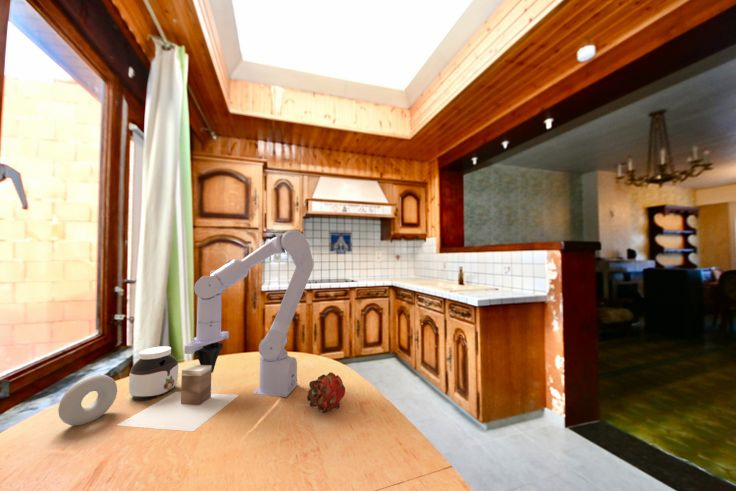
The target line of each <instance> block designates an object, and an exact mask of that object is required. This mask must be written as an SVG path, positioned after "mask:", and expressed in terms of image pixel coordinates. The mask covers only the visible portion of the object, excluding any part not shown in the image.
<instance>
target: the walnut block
mask: <svg viewBox="0 0 736 491" xmlns="http://www.w3.org/2000/svg"><path fill="white" fill-rule="evenodd" d="M211 370H212V365H200V364H192V365H190V366H188V367H186V368H184V369H181V384H180V385H181V386H180V387H181V388H180V392H181V404H190V405H200V404H202V403H203V402H205V401H206V400H208V399H209V398H211V394H212V373H211Z"/></svg>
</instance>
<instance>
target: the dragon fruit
mask: <svg viewBox="0 0 736 491" xmlns="http://www.w3.org/2000/svg"><path fill="white" fill-rule="evenodd" d="M343 383H344V382H343V379H342V378H341V377H340V375H336V374H335V373H334V372H328V373H327V374H322V375H319V376H318V377H317V379H315V380H311V381H309V390H308V392H307V396H306V399H307V401H308V402H309V406H310V408H317V409H318V411H319V412H322V413H326V412H328V411H329V409H331V410H335V409H336V410H339V408H340V405H341V403H340V401H341V400H342V399H343V398H344V397H345V394H346V386H345V385H344V384H343Z"/></svg>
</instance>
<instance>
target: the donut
mask: <svg viewBox="0 0 736 491" xmlns="http://www.w3.org/2000/svg"><path fill="white" fill-rule="evenodd" d="M92 392H96V393H97V397H96V399H95V401H94V402H93V403H92V404H90V405H89V406H87V407H86V406H85V407H83V406H82V402H83V400H84V398H86V396H87V395H88V394H89V393H92ZM117 394H118V386H117V383H116V381H115V379H114V378H112V377H110V376H109V375H106V374H105V375H104V374H92V375H89V376H86V377H84V378H82V379H80V380H79V381H77V382H76V383H73V384H72V386H70V387H69V389H67V390H66V392H64V394H63V396H62V398H61V399H60V402H59V404H58V405H59V406H58V408H57V411H58V416H59V418H60V420H61V421H62V422H63V423H64V424H67V425H69V426H83V425H87V424H88V423H91V422H94V421H95V420H98V419H100V417H102V416H103V415H104V414H106V412H108V411H109V409H110V408H111V406H113V404H114V402H115V400H116V399H117Z"/></svg>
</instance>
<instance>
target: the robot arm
mask: <svg viewBox="0 0 736 491" xmlns="http://www.w3.org/2000/svg"><path fill="white" fill-rule="evenodd" d="M286 253H288V255H290V257H291V259H292V262H293V263H294V265H295V269H294V271H293V274H292V276H291V278H290V282H289V284H288V285H287V289H286V291H285V292H284V296H283V298H282V300H281V303H280V305H279V308H278V311H277V313H276V315H275V317H274V320H273V322H272V324H271V326H270V328H269V330H268V331H267V333H266V335H265V336H264V338H262V339H261V341H260V342H259V344H258V345H259V346H258V352H259V355H260V356H259V386H258V388H257V389H255V391H253V392H252V394H253V395H258V396H259V395H260V396H275V397H276V396H277V397H278V396H279V397H281V398H286V397H288V396H289V395H291V393H292V392H293V390H294V389H295V388H296V387H297V386H298V385H299V383H298V362H297V358H296V357H294V356H293V357H292V356H290V355H288V351H287V350H286V349H285V347H286V345H287V343H288V333H289V329H290V327H291V324H292V322H293V318H294V316H295V314H296V311H297V308H298V306H299V305H300V304H299V303H300V301H301V299H302V298H303V297H302V296H303V294H304V291H305V289H306V287H307V284H308V281H309V279H310V276H311V274H312V272H313V269H314V266H315V263H314V260H313V255H312V251H311V247H310V243H309V241H308V240H307V238H306V236H304V234H303V233H302V232H301V231H300V230H298V229H289V230H286V231H285V232H284V233H283V234H279V235H277V236H275V237H274V238H272V239H270V240H269V241H267V242H265V243H264V244H263V245H261V246H260V247H258V248H257V249H256V250H253V252H251V253H250V254H248V255H246V256H245V257H244V258H242V259H239V258H238V259H237V258H233V259H227V260H226V261H225V264H223V265H222V266H221V267H219V268H217V269H216V270H211V271H210V272H209V274H210V275H203V276H201V277H200V278H199V279H197V281H196V282H195V283H194V287H193V289H194V294H195V295H196V296H197V306H196V307H197V308H196V310H197V311H196V336H195V337H193V340H192V341H191V342H190V343H187V344H185V345H184V350H183V352H184V353H183V354H187V355H188V354H189V355H192V354H195V356H196V358H197V359H198V361H199V365H212V370H211V374H213V373H214V370H215V367H216V366H215V365H216V363H217V360H218V357H219V355H220V353H221V351H222V349H223V348H224V343H221V342H220V341H223V340H228V339H230V338H229V337H230V332H229V331H225V330H224V331H222V306H223V305H222V295H223V293H224V292H225V290H227V289H229V288H231V287H232V286H234V285H235V284H237V283H238V282H239V281H241V280H242V279H245V278H246V277H248V274H249V271H250V269H252V268H253V267H254V266H256V265H258V264H260V263H261V262H263V261H265V260H266V259H268V258H269V257H271V256H273V255H276V254H277V255H278V254H286ZM219 342H220V343H219Z"/></svg>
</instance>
